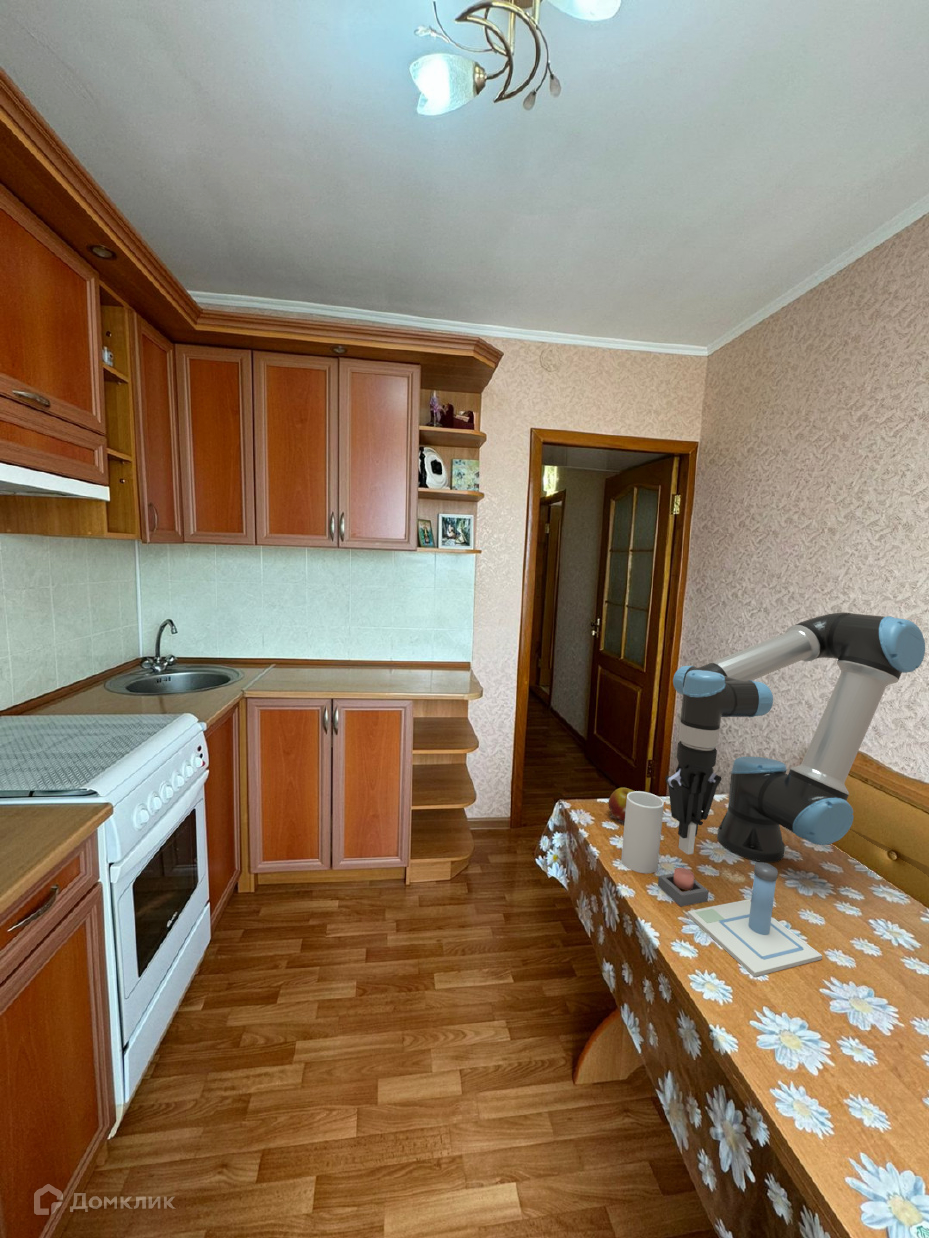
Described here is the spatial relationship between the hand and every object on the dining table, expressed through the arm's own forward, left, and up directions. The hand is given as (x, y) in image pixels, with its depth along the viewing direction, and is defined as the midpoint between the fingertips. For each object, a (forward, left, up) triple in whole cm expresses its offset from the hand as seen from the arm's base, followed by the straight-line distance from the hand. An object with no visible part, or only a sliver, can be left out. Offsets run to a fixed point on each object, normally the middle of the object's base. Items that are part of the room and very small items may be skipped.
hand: (685, 850), depth 108 cm
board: (-4, +14, -10) cm, 18 cm away
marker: (-7, +14, -9) cm, 18 cm away
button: (0, 0, -8) cm, 8 cm away
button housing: (0, 0, -10) cm, 10 cm away
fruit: (-8, -32, -10) cm, 35 cm away
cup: (+2, -12, -10) cm, 16 cm away
